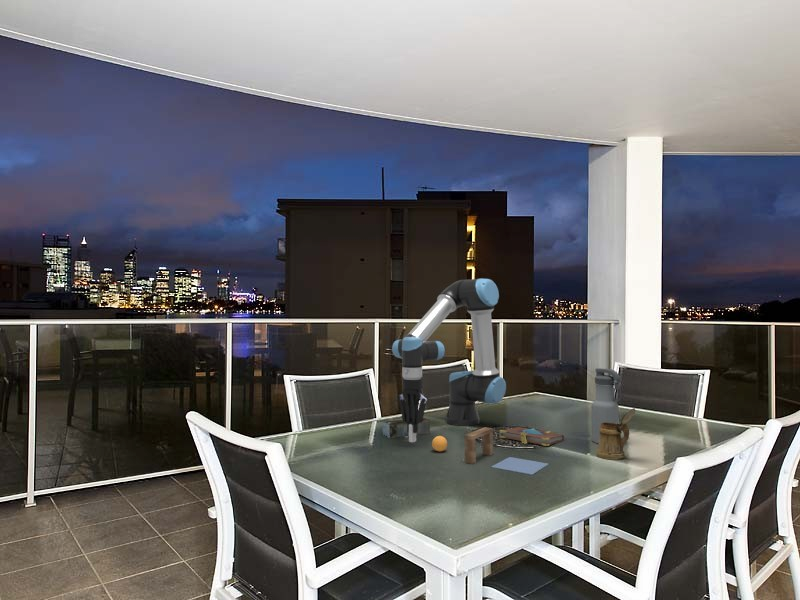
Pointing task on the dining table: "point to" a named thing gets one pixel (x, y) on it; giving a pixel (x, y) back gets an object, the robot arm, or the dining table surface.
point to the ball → (439, 443)
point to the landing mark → (520, 465)
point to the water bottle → (605, 400)
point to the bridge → (471, 444)
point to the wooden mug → (614, 438)
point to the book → (532, 436)
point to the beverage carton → (404, 428)
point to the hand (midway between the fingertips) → (412, 441)
